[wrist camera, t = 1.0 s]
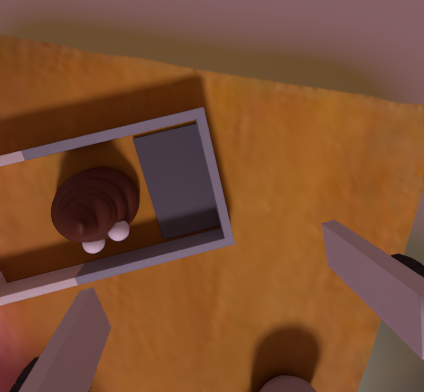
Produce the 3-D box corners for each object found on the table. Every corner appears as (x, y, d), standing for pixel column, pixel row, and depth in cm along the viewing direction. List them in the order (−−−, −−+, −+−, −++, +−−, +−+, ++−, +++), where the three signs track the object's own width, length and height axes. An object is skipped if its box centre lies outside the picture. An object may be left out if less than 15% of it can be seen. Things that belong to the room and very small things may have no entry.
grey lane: (201, 108, 32) (203, 107, 28) (229, 232, 36) (234, 243, 33) (38, 147, 31) (20, 150, 28) (87, 269, 35) (77, 285, 32)
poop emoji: (119, 152, 32) (94, 164, 23) (154, 213, 34) (145, 245, 25) (43, 190, 32) (-10, 216, 23) (84, 248, 35) (50, 292, 26)
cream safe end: (38, 147, 31) (20, 150, 28) (87, 269, 35) (77, 285, 32) (-61, 171, 30) (-90, 177, 27) (2, 291, 35) (-17, 309, 31)
